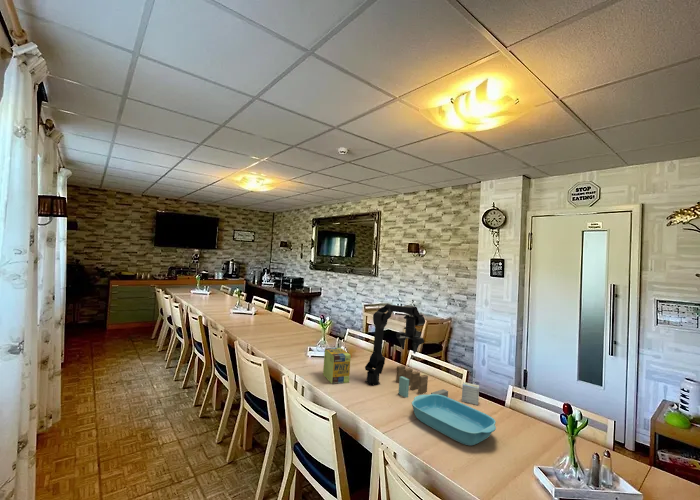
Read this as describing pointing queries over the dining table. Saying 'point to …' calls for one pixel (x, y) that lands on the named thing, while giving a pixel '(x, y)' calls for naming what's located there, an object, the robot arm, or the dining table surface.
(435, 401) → the casserole dish
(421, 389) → the domino
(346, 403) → the dining table surface
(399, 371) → the domino
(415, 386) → the domino
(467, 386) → the medicine box
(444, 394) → the end block
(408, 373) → the domino
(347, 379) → the protein box
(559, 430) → the dining table surface
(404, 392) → the light blue flat block
